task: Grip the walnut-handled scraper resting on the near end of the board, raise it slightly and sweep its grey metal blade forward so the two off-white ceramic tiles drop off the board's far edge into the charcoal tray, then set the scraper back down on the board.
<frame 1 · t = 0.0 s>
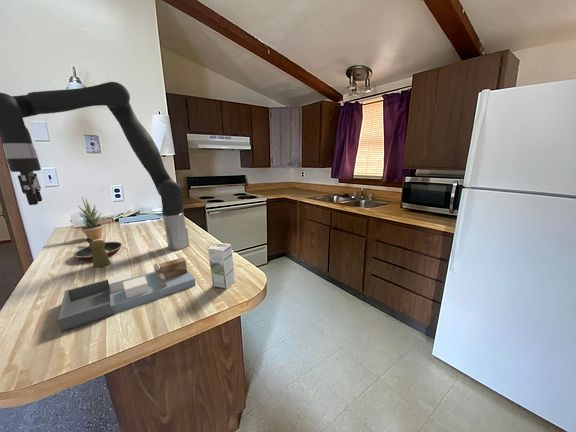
hand: (36, 203, 87), 29 cm above the table, fingers open, 8 cm apart
frying pan: (96, 251, 119), on the table
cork: (102, 265, 103), on the table
potted plant: (94, 238, 138), on the table
scraper: (174, 274, 87), point 2 cm above the table, touching board
board: (153, 287, 83), on the table
tray: (89, 308, 73), on the table
tile b: (122, 285, 81), point 2 cm above the table, touching board
tile a: (136, 290, 77), point 2 cm above the table, touching board
syrup box: (224, 284, 84), on the table
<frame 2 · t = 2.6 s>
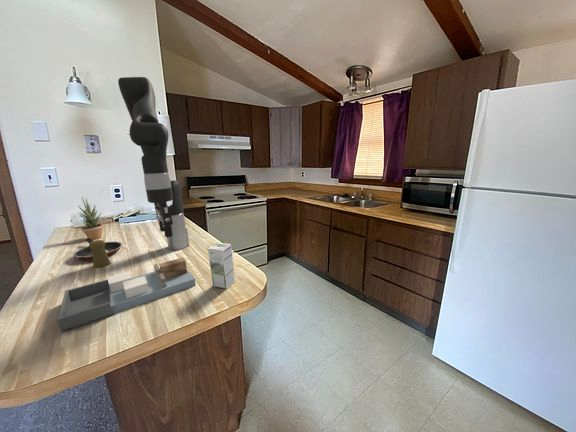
hand: (166, 233, 83), 18 cm above the table, fingers open, 8 cm apart
nothing on the table moved.
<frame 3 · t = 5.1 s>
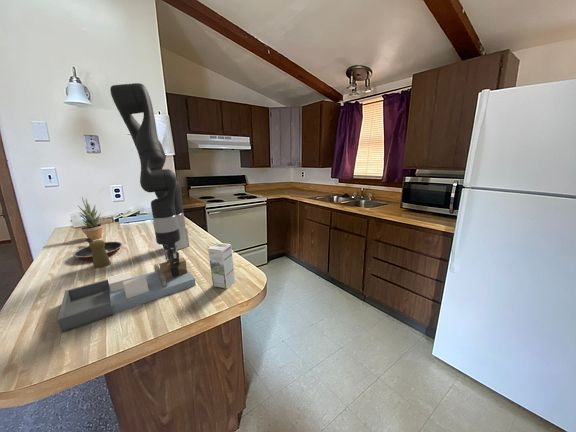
hand: (174, 273, 87), 3 cm above the table, fingers closed on scraper, 3 cm apart
scraper: (174, 274, 87), point 3 cm above the table, touching board, gripper
everything else where it was.
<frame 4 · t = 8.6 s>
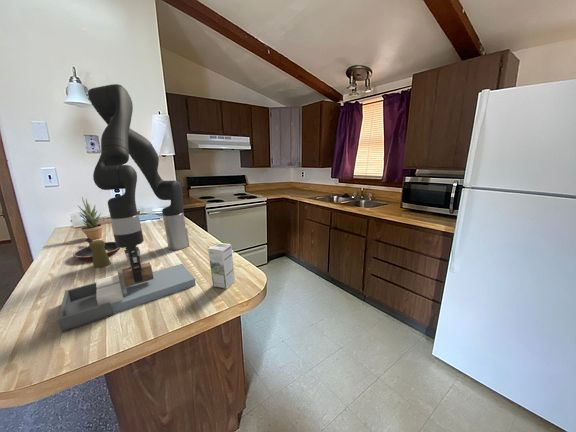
hand: (138, 278, 80), 5 cm above the table, fingers closed on scraper, 3 cm apart
scraper: (139, 280, 80), point 4 cm above the table, touching gripper, tile a, tile b
tile b: (109, 288, 79), point 3 cm above the table, touching scraper
tile a: (111, 299, 73), point 2 cm above the table, touching board, scraper
everything else where it was.
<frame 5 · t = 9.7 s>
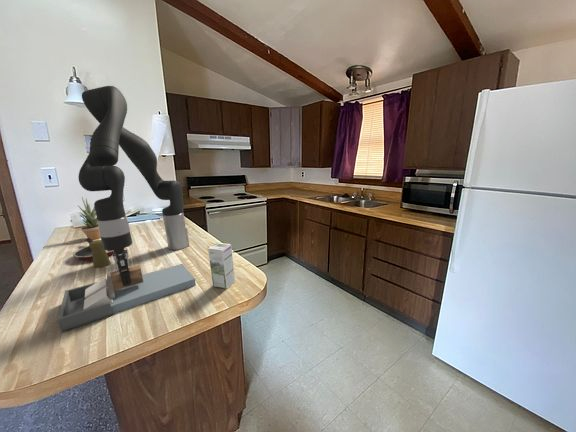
hand: (126, 282, 78), 5 cm above the table, fingers closed on scraper, 3 cm apart
scraper: (128, 284, 79), point 4 cm above the table, touching gripper, tile a, tile b
tile b: (101, 293, 78), point 2 cm above the table, tilted 21°, touching board, scraper, tray
tile a: (101, 304, 72), point 2 cm above the table, tilted 21°, touching board, scraper, tray
everything else where it was.
when the fingers open (4 cm above the table, at t = 11.2 s): scraper stays where it is, resting on board.
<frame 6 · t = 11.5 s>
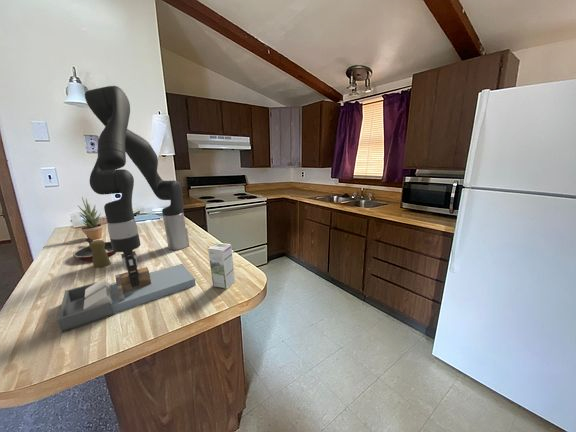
hand: (134, 281, 79), 4 cm above the table, fingers open, 6 cm apart
scraper: (137, 286, 80), point 2 cm above the table, touching board
tile b: (101, 293, 78), point 2 cm above the table, tilted 21°, touching board, tray
tile a: (101, 304, 72), point 2 cm above the table, tilted 21°, touching board, tray
everything else where it was.
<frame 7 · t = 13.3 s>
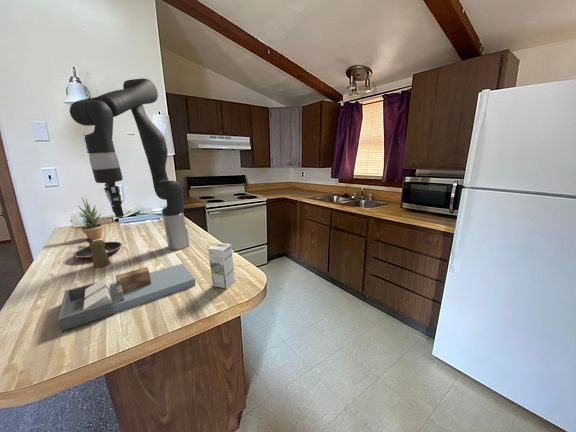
hand: (118, 214, 83), 25 cm above the table, fingers open, 8 cm apart
nothing on the table moved.
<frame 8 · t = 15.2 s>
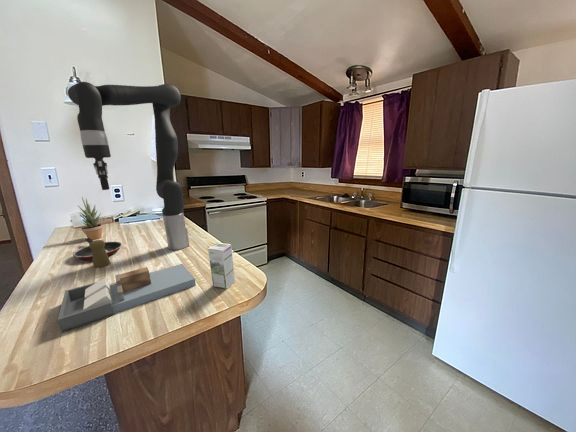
hand: (105, 188, 91), 33 cm above the table, fingers open, 8 cm apart
nothing on the table moved.
at the end: tile a inside the target area (5.4 cm from its centre), point 1.7 cm above the table; tile b inside the target area (5.8 cm from its centre), point 1.7 cm above the table; the gripper is holding nothing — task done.
